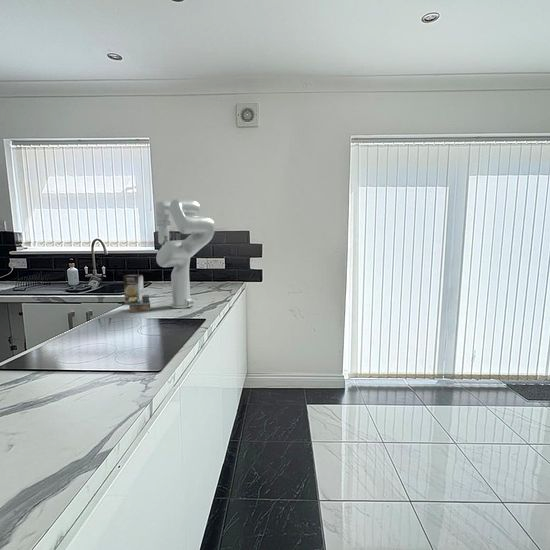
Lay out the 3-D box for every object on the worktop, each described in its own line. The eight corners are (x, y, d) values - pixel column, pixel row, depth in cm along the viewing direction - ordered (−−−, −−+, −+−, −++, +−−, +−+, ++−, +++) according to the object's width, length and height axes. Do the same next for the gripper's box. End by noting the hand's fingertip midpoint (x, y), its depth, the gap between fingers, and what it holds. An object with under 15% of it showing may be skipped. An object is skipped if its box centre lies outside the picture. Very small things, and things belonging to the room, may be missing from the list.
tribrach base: (149, 307, 187) (149, 301, 187) (150, 310, 180) (150, 304, 180) (129, 309, 184) (129, 303, 183) (129, 312, 176) (129, 306, 176)
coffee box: (124, 303, 197) (122, 275, 195) (130, 301, 204) (128, 274, 201) (139, 304, 196) (137, 276, 194) (144, 301, 203) (143, 274, 201)
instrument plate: (149, 301, 187) (149, 294, 186) (150, 304, 180) (150, 296, 179) (129, 302, 183) (129, 295, 183) (129, 305, 176) (129, 298, 175)
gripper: (154, 223, 202) (156, 255, 205) (158, 223, 189) (160, 257, 192) (168, 223, 206) (169, 254, 208) (172, 223, 192) (174, 256, 195)
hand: (165, 255), depth 200 cm, fingers closed
